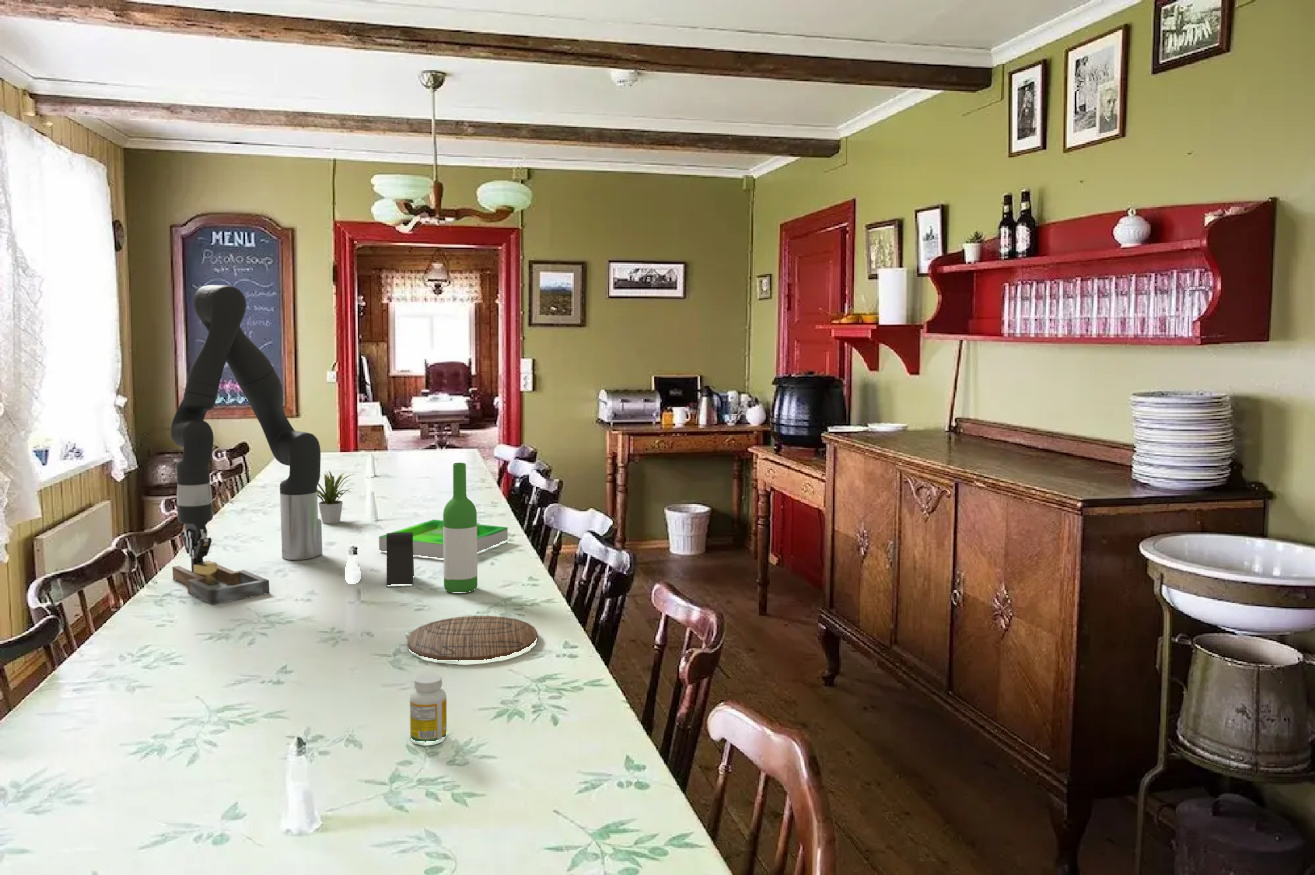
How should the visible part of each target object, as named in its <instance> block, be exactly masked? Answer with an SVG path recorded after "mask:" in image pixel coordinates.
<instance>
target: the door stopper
mask: <svg viewBox="0 0 1315 875" xmlns="http://www.w3.org/2000/svg"><path fill="white" fill-rule="evenodd" d="M386 534H387V554H386V586H387V585H391V584H413V585H414V581H413V576H414V577H415V566H414V565H415V562H414V558H415V557H413V532H409V533H392V532H387V533H386Z"/></svg>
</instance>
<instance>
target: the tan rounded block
mask: <svg viewBox="0 0 1315 875" xmlns="http://www.w3.org/2000/svg"><path fill="white" fill-rule="evenodd" d="M217 564H218V562H216V561H211V562H204V561H203V562H201V563H197V564H194V573H196V574H198V575H200V576H202V577H205V578H207V585H208V586H210V585H209V584H213V585H215V583H216V584H217V583H219V582H218V581H219V580H218V577H217Z"/></svg>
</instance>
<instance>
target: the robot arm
mask: <svg viewBox="0 0 1315 875" xmlns="http://www.w3.org/2000/svg"><path fill="white" fill-rule="evenodd" d="M193 308H194V311H195V314H196V315H197V316H198V318H199V321H201V324H203V326H204V327H205V329H206V330H207V332H208V333H207V337H206V340H205V342H204V343H203V345H202V347H201V349H200V351H199V353H198V354H197V356H196V358H195V360H194V361H193V363H192V365H191V367H190V369H189V371H188V376H187V379H186V383H185V388H184V392H183V393H184V394H183V398H182V400H181V402H180V404H179V405H178V408H177V410H176V412H175V414H174V417H173V419H172V422H171V425H170V435H171V439H172V441H173V442H174V444H176V445H177V446H179V447H183V450H182V451H183V452H182V453H183V454H182V459H180V460H178V462H177V464H176V480H177V481H176V482H177V483H176V484H177V486H176V487H177V488H176V505H177V506H176V507H177V510H176V511H177V522H178V523H180V524H183V525H185V526H184V531H183V530H182V531H180V536H181V539H182V541H183V546H184V548H185V551H186V554H187V555H189V556H188V557H189V558H190V564H191V571H192V572H194V564H197V563H201V562H204V558H205V557H207V556H208V554H209V550H210V548H211V545H212V541H213V539H212V538H211V537H208V529H207V525H206V523H209V522H211V521H212V520H213V518H214V517H213V494H212V492H213V491H212V486H211V473H210V472H211V471H210V463H211V459H212V454H213V448H214V432H213V429H212V426H211V425H210V424H209V423H208V422H207V421H205V417H206V414H207V412H208V411H210V410H212V409H213V408H214V407H215V405H216V401H217V398H218V392H219V389H220V385H221V384H220V383H221V379H222V377H223V376H222V375H223V373H224V369H225V365H226V363H227V365H228V367H229V369H230V371H231V373H232V375H233V377H234V379H235V381H236V383H237V384H238V386H239V388H240V390H241V392H242V394H243V396H244V397H245V399H246V401H248V403H249V406H250V407H251V410H252V412H253V413H254V416H255V418H256V419H257V421H258V423H259V424H260V427H261V429H262V431H263V434H264V436H265V439H266V441H267V444H268V446H269V449H270V451H271V453H272V455H273V457H274V458H275V460H276V461H277V462H279V463H280V464H282V465H285V466H289V475H288V477H287V479H284V480H282V481H281V482H279V501H280V502H279V503H280V528H281V529H280V530H281V557H282V559H284V560H294V561H295V560H296V561H297V560H298V561H300V560H302V561H303V560H308V559H313V558H316V557H318V556H323V534H322V532H323V529H322V528H323V527H322V524H323V523H322V519H320V518H319V510H318V509H319V502H318V501H319V500H318V499H319V498H318V496H317V493H318V492H317V489H318V483H319V482H320V479H321V461H322V458H321V454H322V453H321V452H322V450H321V445H320V442H319V439H318V438H317V436H315V434H313V433H310V432H306V431H298V430H295V429H294V427H293V426H292V425H291V423H290V421H289V419H288V417H287V415H286V414H285V410H284V405H283V404H284V403H283V401H284V398H283V396H284V395H283V394H284V393H283V391H284V390H283V385H282V382H281V379H280V378H279V376H278V373H277V372H276V370H275V368H274V366H273V364H272V363H271V361H270V359H269V358H268V357H267V356H266V355H265V354H264V352H263V351H261V349H260V348H259V347H257V345H256V344H254V342H252V340H251V339H250V338H249V337H248V336H247V335H246V334H245V332H244V330H243V329H242V328H241V324H242V322H243V319H244V316H245V313H246V311H247V310H246V309H247V300H246V297H245V295H244V293H243V292H242V291H241V290H240V289H239V288H237V287H236V286H232V285H221V284H212V285H211V284H210V285H209V284H208V285H203V286H201V287H199V288H198V289H197V290H196V292H195V293H194V296H193ZM319 484H320V483H319Z"/></svg>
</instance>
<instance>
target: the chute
mask: <svg viewBox="0 0 1315 875" xmlns="http://www.w3.org/2000/svg"><path fill="white" fill-rule="evenodd" d="M203 562H212V561H211V560H205V561H204V560H203ZM171 569H172V579H173V580H174V579H176V580H177V582H178V581H179V583H180V582H181V584H182V585H184V584H185V586H186V585H187V586H186V588H187V594H189V593H190V594H189V595H191V594H192V595H191V596H193V597H195V596H196V597H195V598H197V597H198V598H197V599H200V601H203V602H205V601H206V602H205V603H207V602H208V604H209V605H213V606H214V605H218V604H223V603H226V602H227V601H228V602H232V601H237V600H242V598H243V599H246V597H248V598H252V597H251V596H253V597H257V595H258V596H262V595H261V594H263V595H265V594H264V593H268V594H270V580H269V579H267V578H265V577H262V576H259V575H258V574H255V573H253V572H251V571H248V570H245V569H241V570H237V571H236V570H235V571H234V570H232V569H230V568H228V567H224V566H223V565H221V564H218V563H217V577H218V581H219V580H220V581H219V582H220V583H221V582H222V583H223V584H225V585H227V584H228V585H227V586H223V587H217V588H215V587H212V586H211V585H207V578H205V577H202V576H200V575H198V574H196V573H194V572H192V570H190V569H187V568H185V567H184V566H183V567H182V566H180V565H177V566H176V565H175V566H172V568H171ZM176 580H175V581H176ZM230 585H231V586H230ZM222 602H223V603H222Z"/></svg>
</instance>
